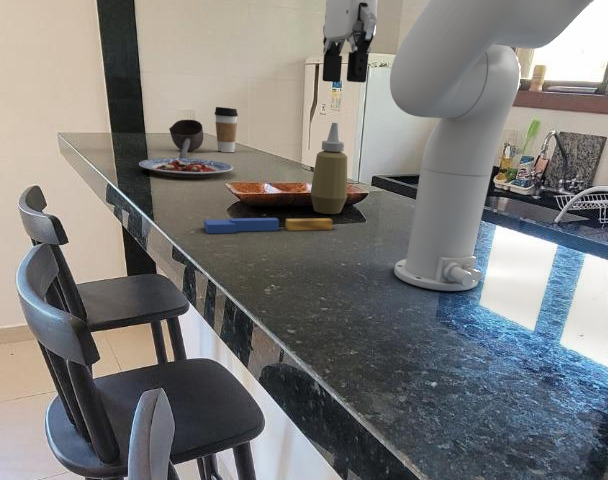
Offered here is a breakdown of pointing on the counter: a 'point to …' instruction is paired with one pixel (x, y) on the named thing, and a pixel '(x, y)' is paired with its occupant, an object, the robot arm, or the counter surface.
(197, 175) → the ceramic plate
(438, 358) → the counter surface
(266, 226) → the blue l-shaped block
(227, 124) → the coffee cup
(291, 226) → the fry
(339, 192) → the squeeze bottle
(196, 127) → the ladle
